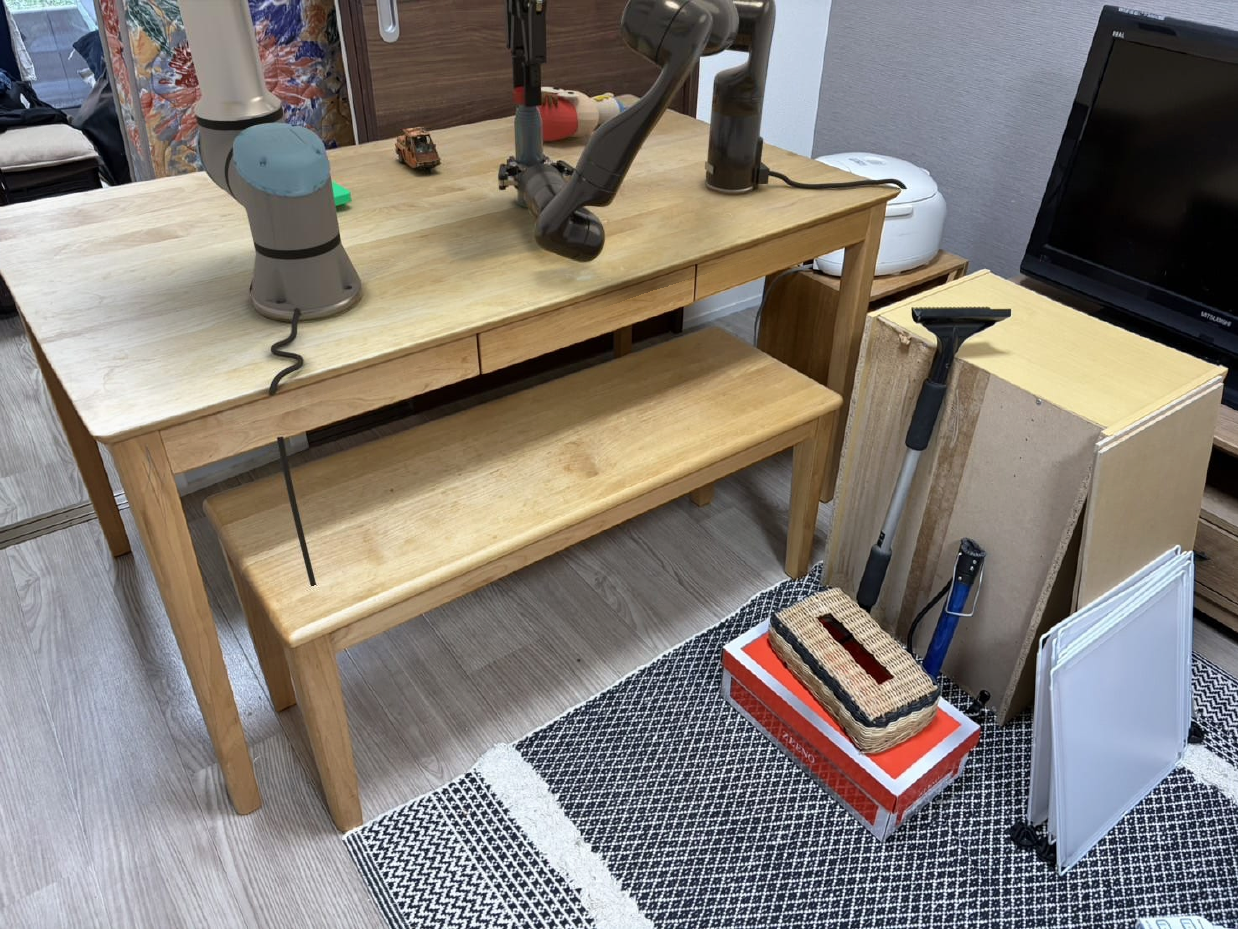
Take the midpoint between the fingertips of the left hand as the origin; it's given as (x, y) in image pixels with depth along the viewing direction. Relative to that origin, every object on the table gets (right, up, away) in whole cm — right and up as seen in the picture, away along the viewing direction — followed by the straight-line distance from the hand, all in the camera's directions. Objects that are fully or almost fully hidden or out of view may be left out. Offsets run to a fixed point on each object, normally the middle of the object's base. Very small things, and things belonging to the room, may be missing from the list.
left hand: (527, 101), depth 156 cm
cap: (0, +1, -1) cm, 2 cm away
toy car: (-24, -3, +24) cm, 34 cm away
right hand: (-1, -7, +9) cm, 11 cm away
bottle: (0, -14, +11) cm, 18 cm away
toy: (+9, +11, +45) cm, 47 cm away
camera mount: (-38, -15, +8) cm, 42 cm away
